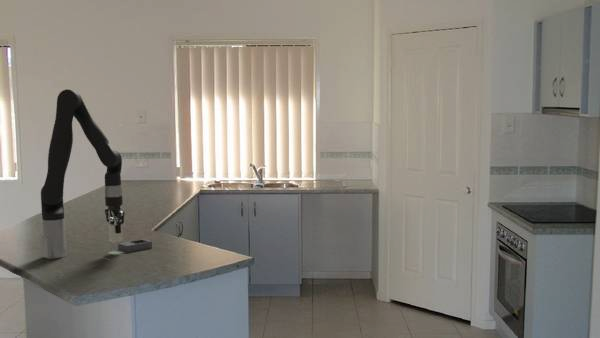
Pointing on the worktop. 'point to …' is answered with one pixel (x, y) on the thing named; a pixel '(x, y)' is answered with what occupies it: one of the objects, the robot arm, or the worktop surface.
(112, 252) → the mat
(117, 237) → the beige rectangular block
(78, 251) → the worktop surface
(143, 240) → the grey holder tray
